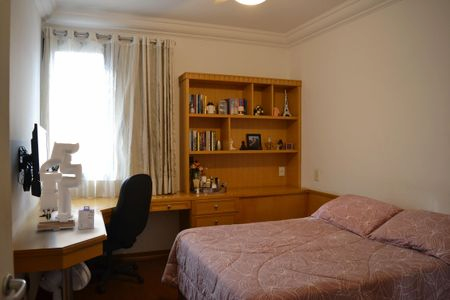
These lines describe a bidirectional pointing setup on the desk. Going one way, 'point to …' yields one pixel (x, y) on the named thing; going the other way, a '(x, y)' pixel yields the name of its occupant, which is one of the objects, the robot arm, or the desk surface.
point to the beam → (55, 224)
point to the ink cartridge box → (86, 218)
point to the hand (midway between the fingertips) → (48, 219)
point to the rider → (63, 217)
